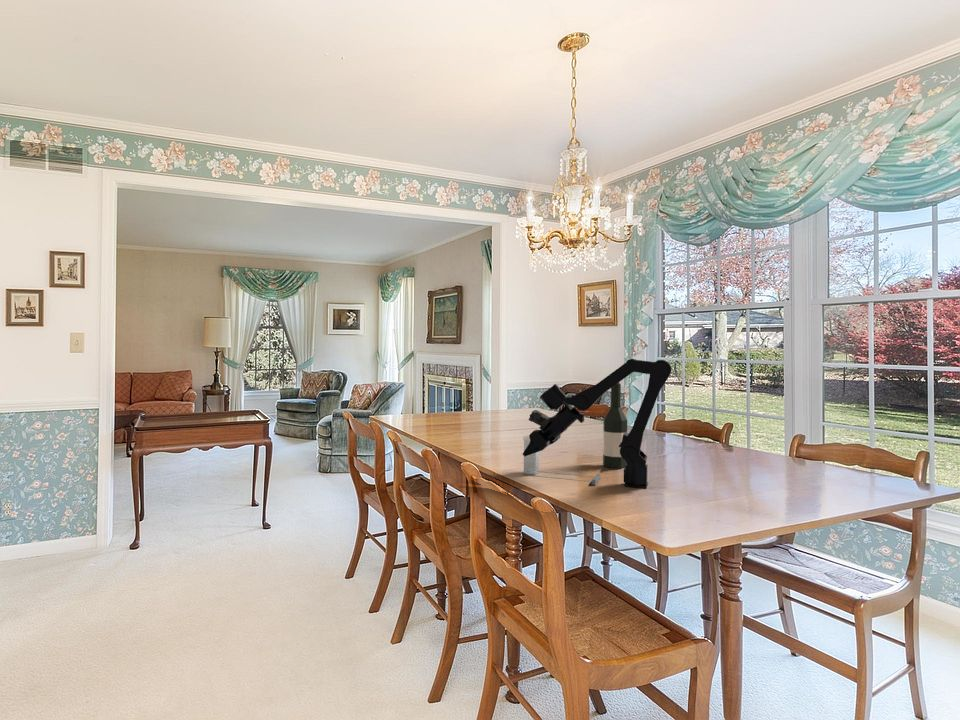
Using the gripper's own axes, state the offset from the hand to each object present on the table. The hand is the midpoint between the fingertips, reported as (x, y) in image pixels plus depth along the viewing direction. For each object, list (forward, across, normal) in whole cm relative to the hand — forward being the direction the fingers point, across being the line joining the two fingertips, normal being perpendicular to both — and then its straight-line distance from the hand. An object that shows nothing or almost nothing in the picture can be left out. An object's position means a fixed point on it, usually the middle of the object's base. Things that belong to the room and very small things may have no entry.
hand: (527, 452), depth 181 cm
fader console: (-3, 0, +13) cm, 14 cm away
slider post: (+4, 0, +6) cm, 7 cm away
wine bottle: (-12, -25, +22) cm, 36 cm away
